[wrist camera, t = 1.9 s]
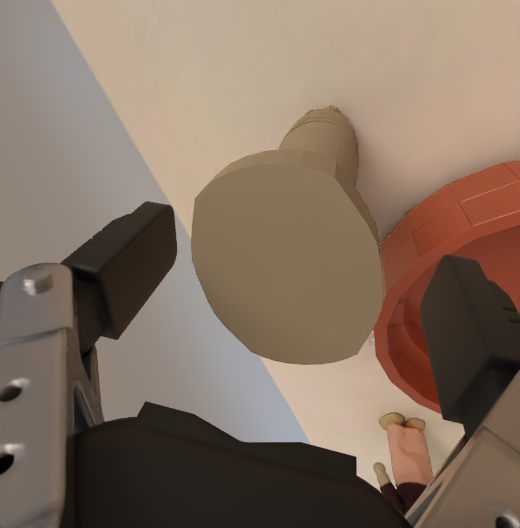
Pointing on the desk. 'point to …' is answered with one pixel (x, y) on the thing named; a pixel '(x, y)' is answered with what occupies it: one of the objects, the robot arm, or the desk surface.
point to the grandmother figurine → (405, 462)
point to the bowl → (428, 257)
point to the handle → (292, 246)
